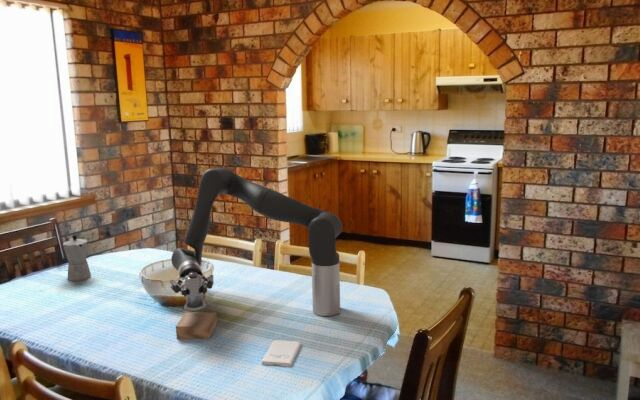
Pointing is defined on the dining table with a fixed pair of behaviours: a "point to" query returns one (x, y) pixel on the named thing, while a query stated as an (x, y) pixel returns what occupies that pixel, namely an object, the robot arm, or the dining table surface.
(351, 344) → the dining table surface
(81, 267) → the coffeepot
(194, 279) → the cylinder
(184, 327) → the stand
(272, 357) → the external hard drive
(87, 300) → the dining table surface
